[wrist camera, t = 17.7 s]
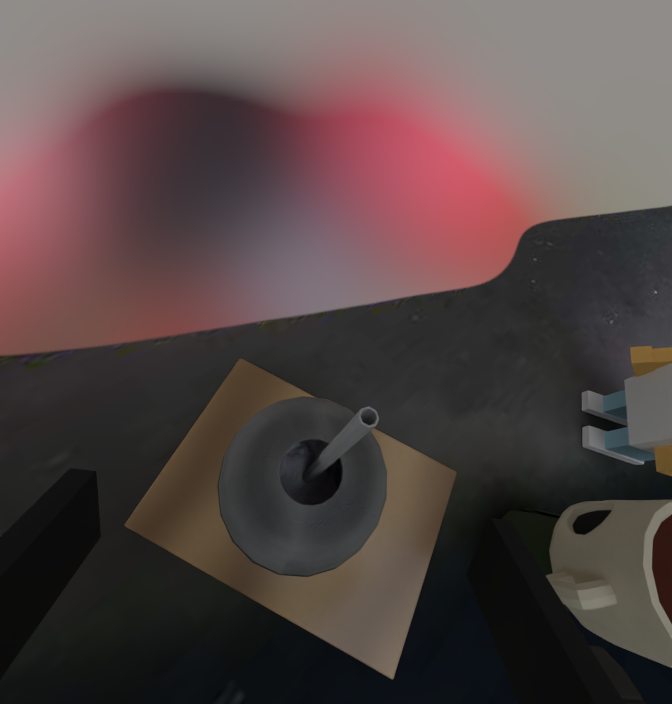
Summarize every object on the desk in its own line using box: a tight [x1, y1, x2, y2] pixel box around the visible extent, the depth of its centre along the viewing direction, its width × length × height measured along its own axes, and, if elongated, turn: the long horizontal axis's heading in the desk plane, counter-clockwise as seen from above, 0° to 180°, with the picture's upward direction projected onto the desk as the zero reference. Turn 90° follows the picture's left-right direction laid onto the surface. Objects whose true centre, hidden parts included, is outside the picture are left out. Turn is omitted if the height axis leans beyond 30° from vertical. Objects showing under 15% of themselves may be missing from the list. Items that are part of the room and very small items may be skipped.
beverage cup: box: [217, 396, 387, 577], centre depth 17 cm, size 7×7×20 cm
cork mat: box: [124, 358, 457, 679], centre depth 26 cm, size 20×14×1 cm
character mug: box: [501, 500, 672, 668], centre depth 21 cm, size 11×7×13 cm, turn 97°
